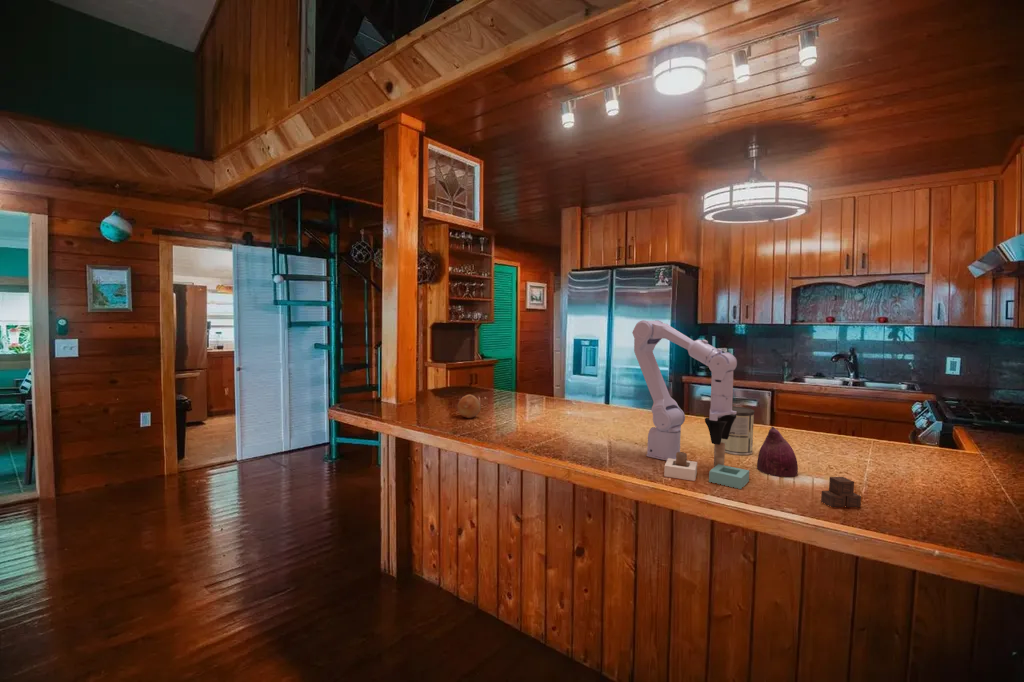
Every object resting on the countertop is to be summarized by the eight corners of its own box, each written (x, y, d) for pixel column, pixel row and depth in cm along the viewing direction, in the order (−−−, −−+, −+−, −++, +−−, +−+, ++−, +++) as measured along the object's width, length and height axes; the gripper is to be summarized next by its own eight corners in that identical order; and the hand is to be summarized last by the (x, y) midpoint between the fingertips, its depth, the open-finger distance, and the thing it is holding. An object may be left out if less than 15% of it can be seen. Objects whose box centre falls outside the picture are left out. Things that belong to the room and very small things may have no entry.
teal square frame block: (708, 481, 127) (709, 471, 126) (718, 474, 133) (718, 464, 133) (740, 489, 121) (741, 478, 121) (748, 481, 128) (749, 470, 127)
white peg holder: (664, 476, 131) (664, 465, 130) (667, 468, 138) (668, 458, 138) (694, 481, 127) (695, 470, 127) (696, 472, 134) (697, 461, 134)
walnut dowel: (674, 474, 132) (674, 453, 132) (677, 472, 134) (678, 451, 134) (683, 476, 131) (684, 455, 130) (687, 474, 133) (688, 453, 132)
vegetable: (777, 489, 131) (773, 440, 127) (749, 472, 141) (745, 427, 137) (807, 477, 133) (805, 429, 130) (778, 461, 143) (775, 417, 139)
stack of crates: (842, 493, 121) (843, 467, 121) (891, 518, 106) (893, 488, 106) (785, 493, 121) (787, 467, 121) (826, 518, 106) (828, 488, 106)
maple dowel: (712, 470, 136) (713, 443, 136) (715, 468, 138) (716, 441, 138) (722, 472, 134) (723, 445, 134) (725, 470, 137) (726, 443, 136)
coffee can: (714, 445, 162) (715, 405, 162) (745, 447, 161) (747, 406, 161) (724, 454, 152) (726, 411, 151) (757, 456, 151) (759, 412, 150)
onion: (455, 416, 204) (455, 393, 204) (477, 414, 207) (477, 392, 207) (459, 420, 195) (459, 397, 195) (482, 419, 198) (483, 396, 197)
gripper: (729, 399, 127) (727, 449, 128) (743, 393, 138) (741, 438, 139) (702, 396, 132) (700, 444, 132) (718, 390, 143) (716, 434, 143)
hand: (720, 441), depth 136 cm, fingers open, 7 cm apart
